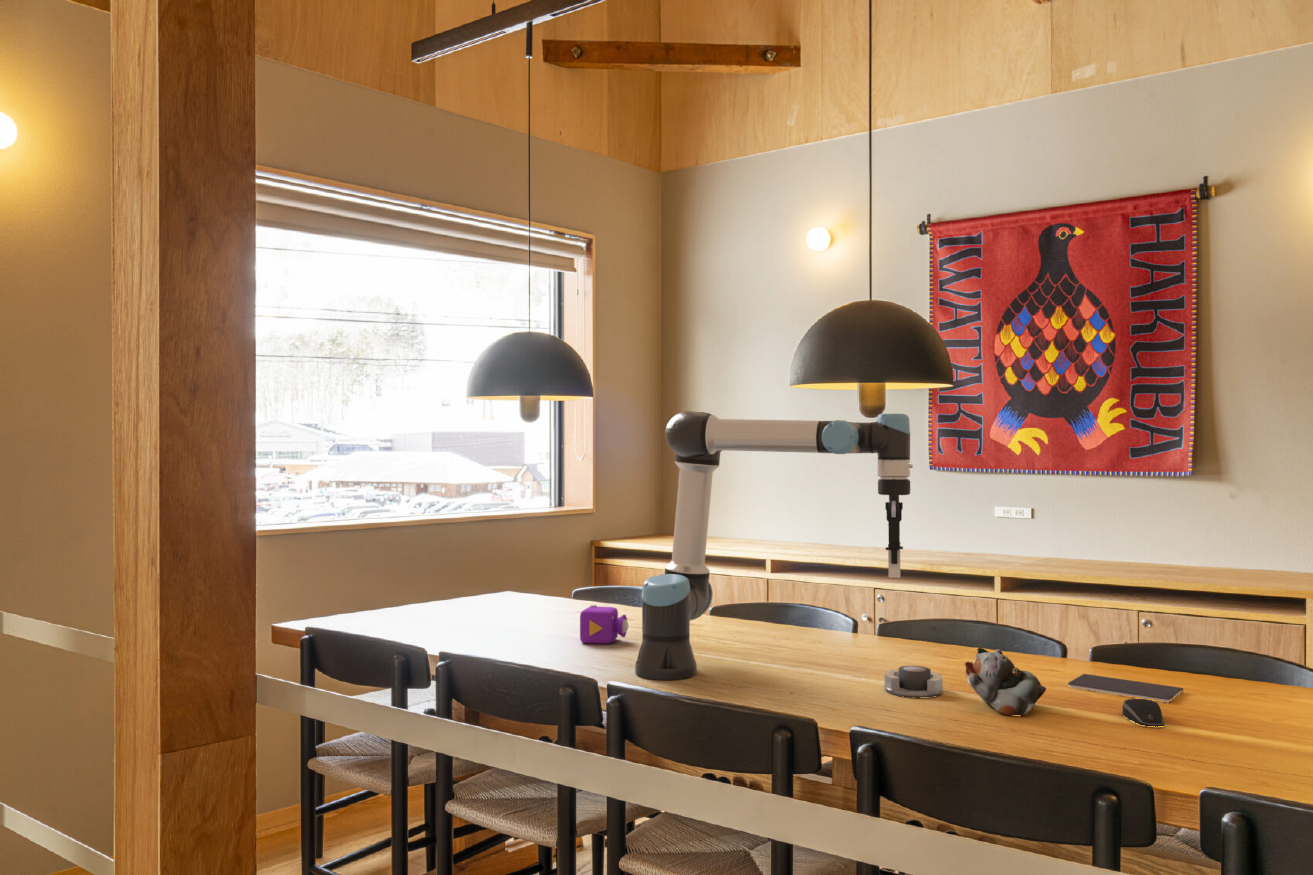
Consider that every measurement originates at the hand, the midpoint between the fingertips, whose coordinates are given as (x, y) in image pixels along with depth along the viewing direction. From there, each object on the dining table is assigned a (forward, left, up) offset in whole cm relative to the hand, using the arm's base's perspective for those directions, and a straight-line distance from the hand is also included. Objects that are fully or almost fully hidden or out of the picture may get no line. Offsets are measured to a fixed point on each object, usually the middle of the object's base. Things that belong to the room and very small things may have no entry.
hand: (894, 577), depth 225 cm
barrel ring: (-7, -8, -24) cm, 27 cm away
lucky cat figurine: (-8, -29, -25) cm, 39 cm away
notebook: (+25, -44, -25) cm, 57 cm away
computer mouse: (+2, -54, -25) cm, 59 cm away
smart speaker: (-7, -8, -23) cm, 26 cm away
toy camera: (-12, +84, -25) cm, 88 cm away
